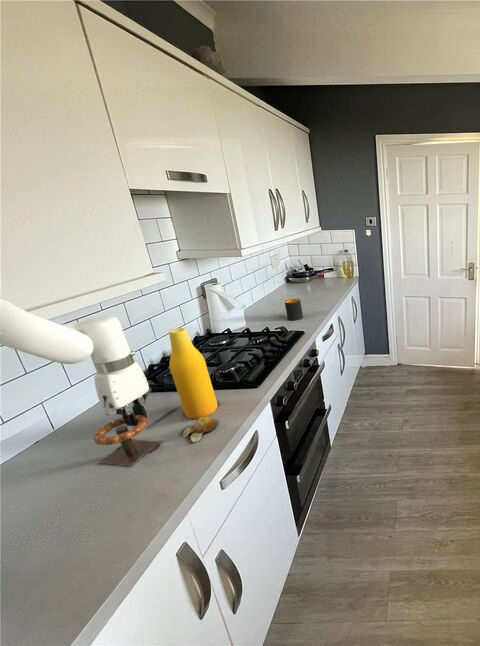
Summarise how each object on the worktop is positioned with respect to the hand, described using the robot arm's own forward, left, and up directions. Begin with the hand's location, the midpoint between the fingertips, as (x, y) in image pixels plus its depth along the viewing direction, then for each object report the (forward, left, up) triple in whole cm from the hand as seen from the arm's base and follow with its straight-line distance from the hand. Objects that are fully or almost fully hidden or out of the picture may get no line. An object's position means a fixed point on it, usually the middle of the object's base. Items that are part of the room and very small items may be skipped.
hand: (137, 421), depth 97 cm
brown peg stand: (0, -4, -8) cm, 9 cm away
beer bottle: (+4, +17, -8) cm, 19 cm away
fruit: (+11, +7, -8) cm, 15 cm away
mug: (-11, +107, -8) cm, 108 cm away
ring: (0, -4, +1) cm, 4 cm away
